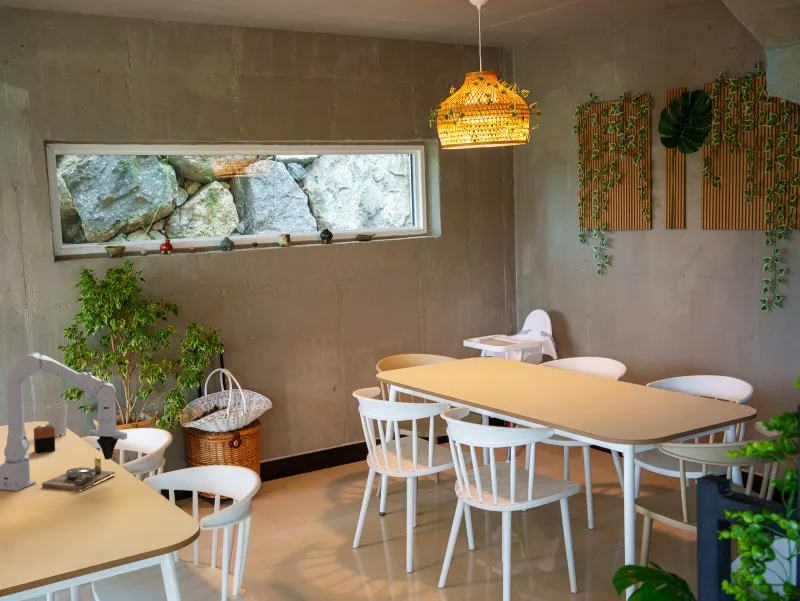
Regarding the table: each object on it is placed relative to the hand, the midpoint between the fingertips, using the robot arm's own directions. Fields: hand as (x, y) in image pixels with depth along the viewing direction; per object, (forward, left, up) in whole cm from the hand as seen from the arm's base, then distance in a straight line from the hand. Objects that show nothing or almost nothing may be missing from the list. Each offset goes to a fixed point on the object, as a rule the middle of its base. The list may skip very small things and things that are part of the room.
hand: (108, 458), depth 289 cm
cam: (-4, +7, -5) cm, 9 cm away
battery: (+25, +46, -7) cm, 53 cm away
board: (-5, +8, -7) cm, 12 cm away
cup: (+49, +59, -7) cm, 77 cm away
